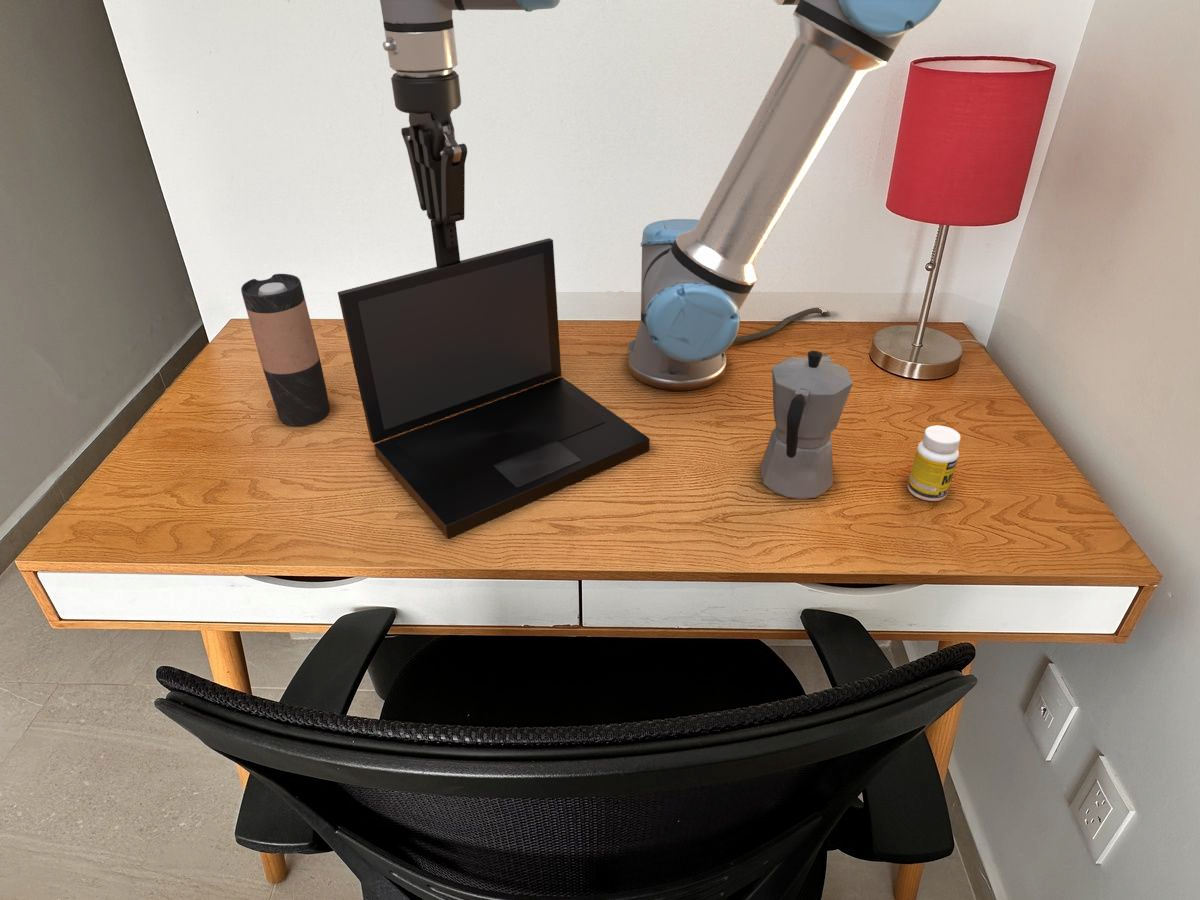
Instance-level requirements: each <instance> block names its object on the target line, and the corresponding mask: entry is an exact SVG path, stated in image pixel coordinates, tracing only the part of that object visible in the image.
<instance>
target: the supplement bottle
mask: <svg viewBox="0 0 1200 900" xmlns="http://www.w3.org/2000/svg"><path fill="white" fill-rule="evenodd" d="M961 438H962V437H961V435H960V433H959V432H958V431H957V430H955V429H954V428H952V427H949V426H945V425H938V424H937V425H930V426H928V427H927V428H926V429H925V430H924V433H923V437H922V440H920V442H919V443H918V444H917V447H916V450H915V455H914V459H913V462H912V467H911V469H910V474H909V477H908V482H907V490H908V491H909V492H910V494H911V495H913V496H914V497H916V498H917V499H920V500H922V501H927V502H937V501H942V500H944V499H945V498H946V497H947V496H948V493H949V490H950V488H951V487H950V486H951V483H952V480H953V477H954V473H955V470H956V466H957V463H958V460H959V456H960V451H959V447H960V442H961Z"/></svg>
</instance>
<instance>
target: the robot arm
mask: <svg viewBox="0 0 1200 900" xmlns="http://www.w3.org/2000/svg"><path fill="white" fill-rule="evenodd" d="M560 2H561V0H379V3H380V8H381V9H380V10H381V15H382V23H383V30H384V36H385V41H383V42H382V47H383V50H384V51H385V52H387V56H388V57H387V58H388V62H389V63H388V64H389V67H390V69H392V70H393V71H395V73H393V74H392V76H391V78H390V80H391V87H392V93H393V94H392V95H393V101H394V105H395V108H396V109H397V110H398V111H399V112H401V113H404V114H408V123H409V125H408V126H405V127H401V129H400V130H401V131H400V132H401V136H402V138H403V141H404V144H405V147H406V151H407V155H408V159H409V164H410V169H411V173H412V176H413V181H414V185H415V189H416V194H417V199H418V202H419V207H420V209H421V211H422V212H425V211H426V216H427V219H428V220H430V228H431V235H432V243H433V250H434V258H435V264H436V267H438V266H442V265H446V264H450V263H454V262H457V261H461V255H460V247H459V238H458V231H457V222H460V221H464V220H465V207H466V206H465V200H466V199H465V192H466V191H465V188H466V186H465V185H466V184H465V182H466V180H465V177H466V174H465V173H466V170H465V169H466V167H465V166H466V160H467V156H468V148H467V145H466V143H458V142H457V140H456V137H455V135H456V134H455V127H454V123H453V120H452V116H451V114H452V112H454V110H457V109H459V107H460V106H461V105H462V96H461V85H460V76H459V73H457V71H456V70H454V69H455V68H456V67H457V66H458V62H459V61H458V53H457V43H456V33H455V26H454V19H453V11H525V12H526V13H527V12H528V13H531V12H533V11H537V10H552V9H555V8H556V7H558V5H560ZM773 2H774V3H775V4H776V5H777V6H796V7H795V10H793V13H792V18H793V22H794V28H795V39H794V41H793V42H792V44H791V46H790V48H789V50H788V52H787V54H786V56H785V58H784V60H783V62H782V63H781V65H780V67H779V69H778V71H777V73H776V74H775V76H774V78H773V80H772V82H771V85H770V86H769V87H768V90H767V91H766V94H765V95H764V97H763V99H762V101H761V103H760V105H759V107H758V108H757V110H756V113H755V114H754V116H753V117H752V120H751V121H750V124H749V125H748V127H747V129H746V131H745V133H744V135H743V137H742V139H741V140H740V142H739V144H738V146H737V148H736V150H735V151H734V153H733V155H732V157H731V159H730V161H729V163H728V165H727V167H726V169H725V170H724V172H723V173H722V177H720V180H719V182H718V184H717V186H716V187H715V189H714V192H713V193H712V195H711V196H710V199H709V201H708V202H707V205H706V207H705V208H704V210H703V211H702V214H701V216H700V217H699V219H693V218H673V219H663V220H658V221H654V222H650V223H649V224H646V226H645V227H644V228H643V231H642V238H641V242H640V247H641V277H640V278H641V279H640V280H641V284H640V285H641V286H640V287H641V288H640V291H641V292H640V322H639V325H638V328H637V331H636V335H635V338H634V339H633V340H630V341H628V342H627V351H628V358H627V359H628V363H627V364H628V365H627V366H628V371H629V373H630V374H631V375H632V377H633V378H635V380H637V381H639V382H641V383H642V384H645V385H646V386H649V387H653V388H656V389H660V390H667V391H668V390H669V391H692V390H698V389H703V388H706V387H709V386H711V385H713V384H715V383H716V382H718V381H720V380H721V379H722V378H723V376H724V375H725V373H726V368H727V356H726V352H725V351H727V350H728V349H729V348H730V347H731V346H732V345H733V344H734V345H735V344H740V343H747V342H751V341H756V340H760V339H762V338H765V337H769V336H771V335H774V334H776V333H778V332H779V331H781V330H782V329H783V328H784V327H785V326H786V325H788V324H789V323H792V322H794V321H797V320H799V319H801V318H804V317H807V316H809V315H810V316H811V315H814V314H821V315H823V316H824V317H831V316H832V315H831V312H830V311H828V310H827V312H823V313H822V310H821V309H819V308H820V307H811V308H807V309H804V310H802V311H799V312H797V313H794V314H792V315H789V316H787V317H785V318H783V319H782V320H781V321H780V322H779V323H778V324H776V325H774V326H772V327H771V328H768V329H765V330H763V331H759V332H756V333H751V334H748V335H742V336H738V332H739V329H740V323H741V316H740V310H741V307H742V306H743V305H744V303H745V302H746V300H747V298H748V296H749V295H750V293H751V291H752V289H753V288H754V286H755V284H756V282H757V281H758V274H757V269H756V266H755V261H756V259H757V257H758V255H759V254H760V253H761V250H762V249H763V247H764V245H765V244H766V243H767V241H768V238H769V237H770V235H771V234H772V232H773V230H774V229H775V227H776V226H777V223H778V222H779V220H780V218H781V216H782V215H783V213H784V211H785V210H786V208H787V207H788V205H789V203H790V202H791V200H792V198H793V197H794V195H795V193H796V192H797V189H798V188H799V187H800V184H801V183H802V181H803V179H804V178H805V176H806V174H807V173H808V171H809V169H810V167H811V166H812V164H813V162H814V161H815V158H816V157H817V156H818V154H819V152H820V151H821V149H822V147H823V145H824V144H825V142H826V140H827V138H828V137H829V135H830V133H831V132H832V130H833V128H835V127H834V126H835V125H836V124H837V122H838V120H839V119H840V116H841V114H842V113H843V111H844V110H845V108H846V107H847V105H848V103H849V102H850V99H851V97H852V96H853V95H854V93H855V91H856V89H857V87H858V86H859V85H860V83H861V81H862V79H863V78H864V76H865V75H866V74H868V73H869V72H871V71H874V70H877V69H879V68H882V67H886V66H887V64H888V63H889V61H890V60H891V58H892V56H893V54H894V52H895V51H896V49H897V48H898V46H899V44H900V43H901V41H902V39H903V38H904V36H905V34H906V33H909V32H911V31H912V30H914V29H915V28H917V27H918V26H920V25H921V24H922V23H924V22H925V21H926V20H927V19H928V18H929V17H930V16H931V15H932V14H933V13H934V12H935V11H936V10H937V9H938V7H939V6H940V4H941V2H942V0H773Z"/></svg>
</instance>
